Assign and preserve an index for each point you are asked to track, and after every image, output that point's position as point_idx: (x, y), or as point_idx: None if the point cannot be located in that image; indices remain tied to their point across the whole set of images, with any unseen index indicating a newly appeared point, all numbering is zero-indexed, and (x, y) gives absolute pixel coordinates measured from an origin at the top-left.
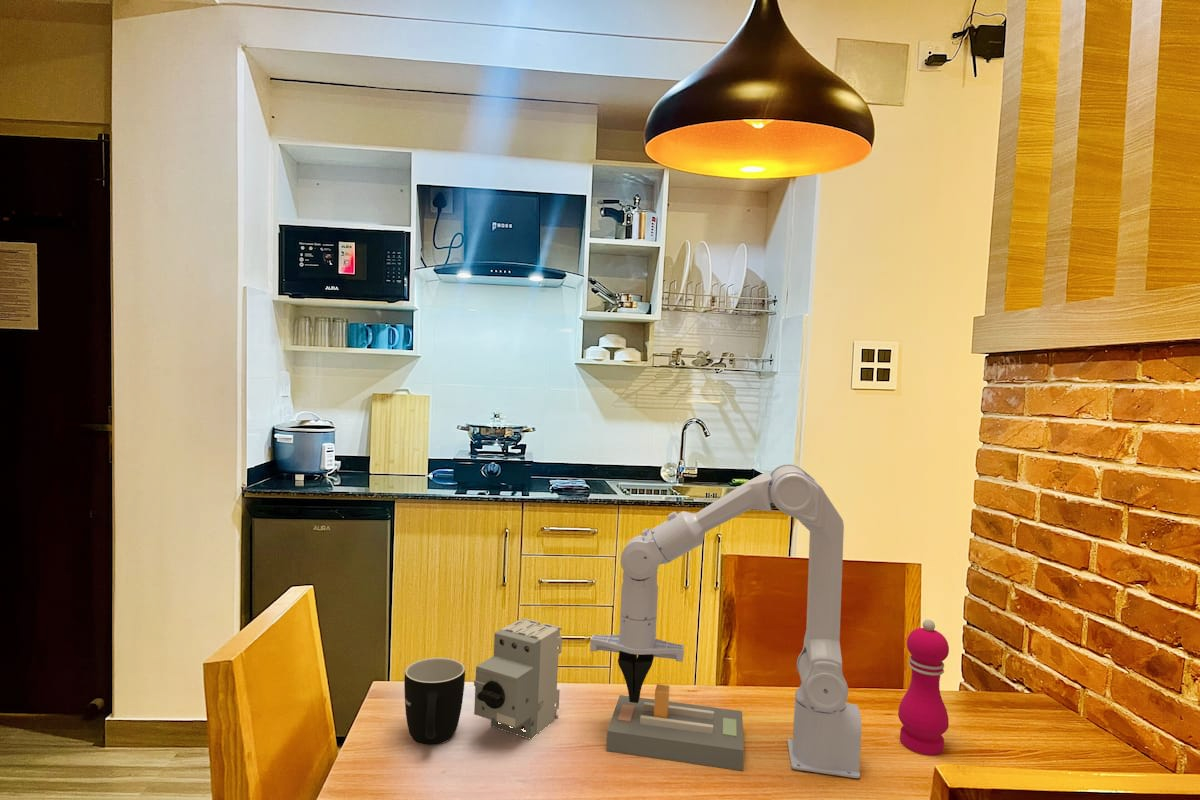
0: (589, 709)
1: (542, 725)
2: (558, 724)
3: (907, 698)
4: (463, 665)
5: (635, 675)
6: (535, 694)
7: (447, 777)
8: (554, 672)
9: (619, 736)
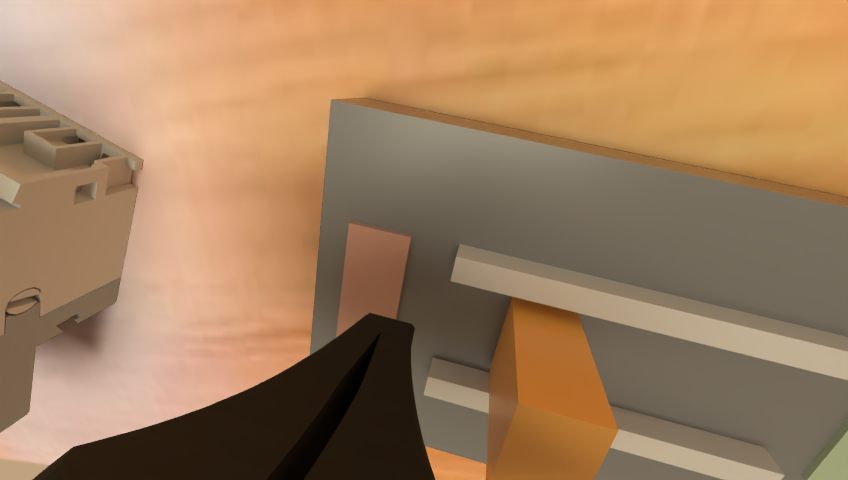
0: (237, 77)
1: (109, 258)
2: (159, 210)
3: None
4: None
5: (340, 387)
6: None
7: (27, 430)
8: None
9: None
